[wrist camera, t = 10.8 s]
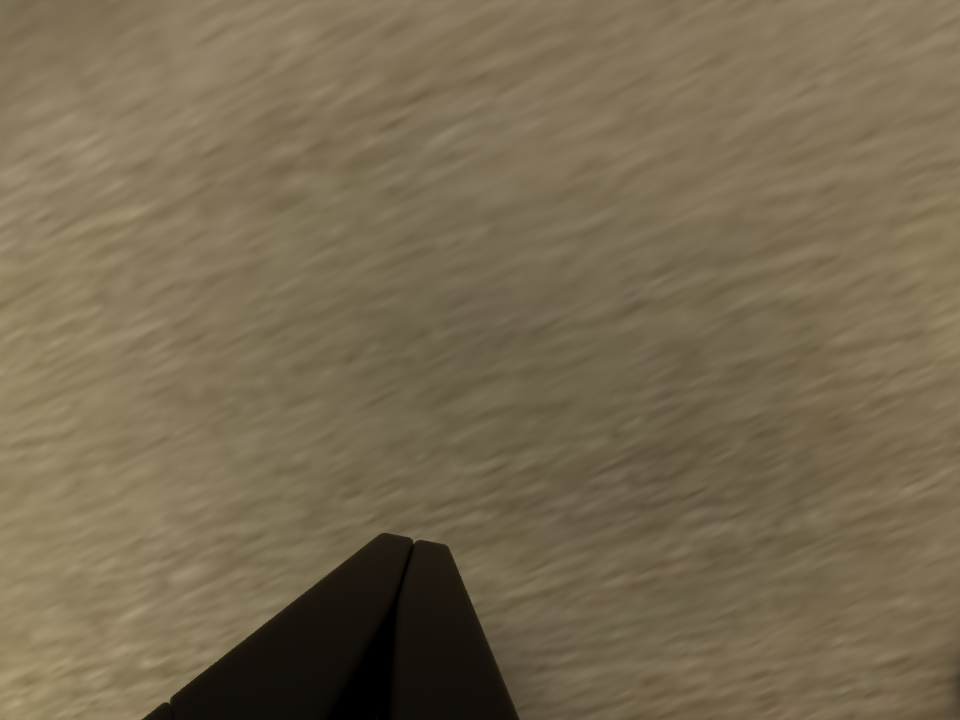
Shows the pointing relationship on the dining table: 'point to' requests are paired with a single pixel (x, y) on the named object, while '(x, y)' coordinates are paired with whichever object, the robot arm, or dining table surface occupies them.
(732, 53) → the dining table surface
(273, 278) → the dining table surface
